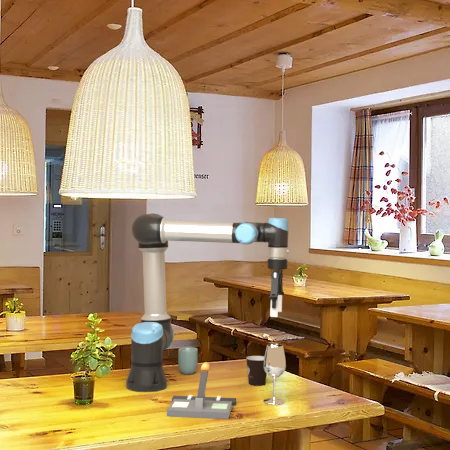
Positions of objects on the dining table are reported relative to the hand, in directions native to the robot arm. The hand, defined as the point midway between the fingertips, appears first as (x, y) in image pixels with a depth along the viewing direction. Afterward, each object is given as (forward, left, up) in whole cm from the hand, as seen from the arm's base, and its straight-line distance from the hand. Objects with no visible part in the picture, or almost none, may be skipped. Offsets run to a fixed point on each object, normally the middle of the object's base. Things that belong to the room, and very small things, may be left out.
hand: (276, 314), depth 286 cm
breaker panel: (-24, -40, -27) cm, 54 cm away
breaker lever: (-24, -40, -23) cm, 52 cm away
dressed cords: (-24, -29, -27) cm, 46 cm away
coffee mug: (-7, +3, -28) cm, 29 cm away
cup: (-36, +15, -28) cm, 48 cm away
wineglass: (0, -24, -28) cm, 36 cm away
